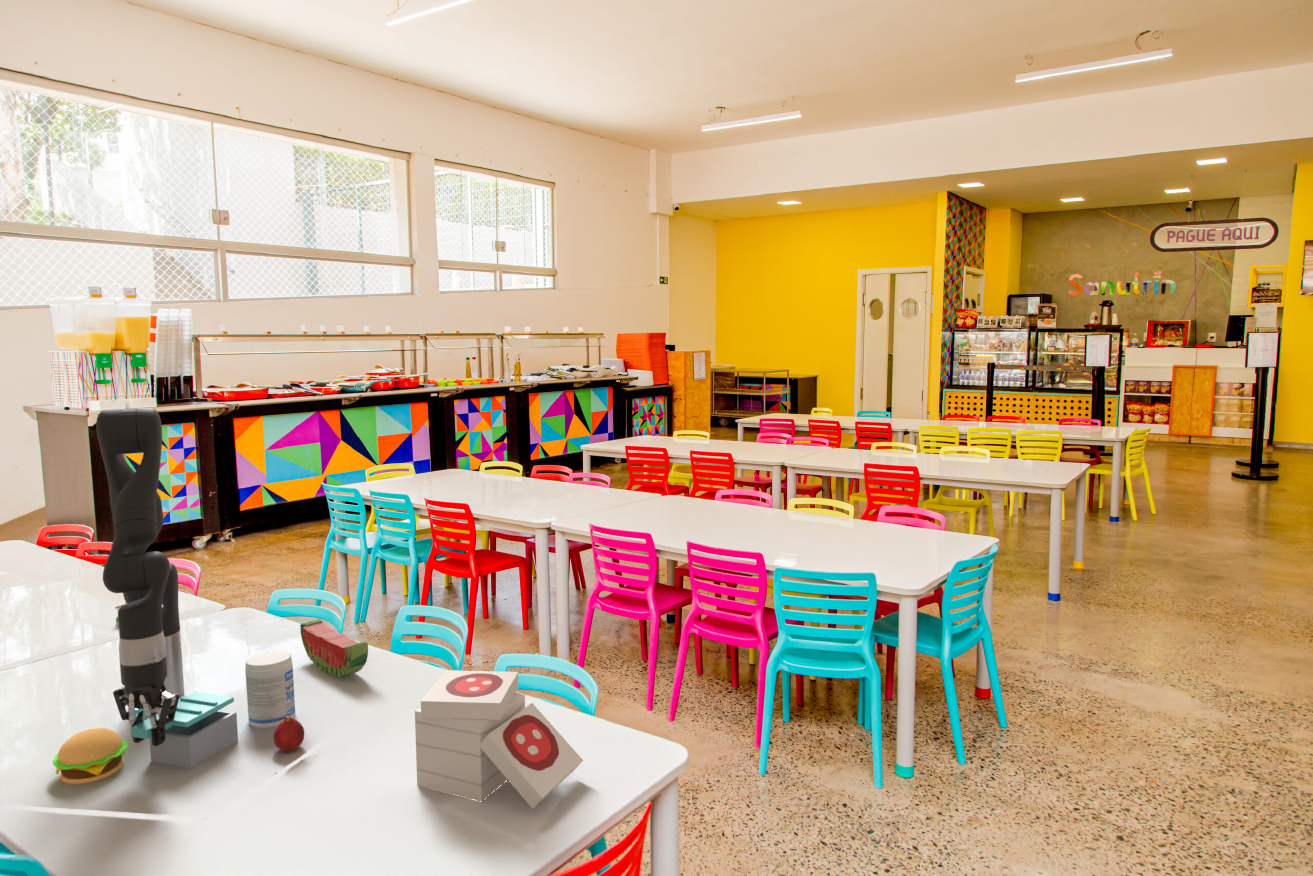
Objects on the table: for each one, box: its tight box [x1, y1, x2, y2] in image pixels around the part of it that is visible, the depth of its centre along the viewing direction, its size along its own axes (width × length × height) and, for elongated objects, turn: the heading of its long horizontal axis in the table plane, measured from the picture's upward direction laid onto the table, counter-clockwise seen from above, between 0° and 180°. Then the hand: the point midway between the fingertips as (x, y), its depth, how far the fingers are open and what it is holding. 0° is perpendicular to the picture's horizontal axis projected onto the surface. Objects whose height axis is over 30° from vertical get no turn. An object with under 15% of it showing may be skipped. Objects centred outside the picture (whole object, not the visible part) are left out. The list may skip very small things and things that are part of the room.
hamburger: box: [52, 727, 128, 785], centre depth 161 cm, size 12×12×9 cm
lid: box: [130, 691, 235, 740], centre depth 165 cm, size 10×18×3 cm, turn 164°
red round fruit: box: [273, 716, 305, 753], centre depth 170 cm, size 6×6×8 cm
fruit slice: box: [299, 618, 369, 678], centre depth 213 cm, size 26×6×10 cm, turn 48°
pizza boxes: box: [414, 669, 584, 809], centre depth 158 cm, size 19×30×18 cm, turn 66°
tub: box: [149, 709, 239, 769], centre depth 169 cm, size 10×12×7 cm
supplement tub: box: [244, 650, 296, 729], centre depth 184 cm, size 10×10×15 cm
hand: (149, 742), depth 159 cm, fingers closed on lid, 4 cm apart
